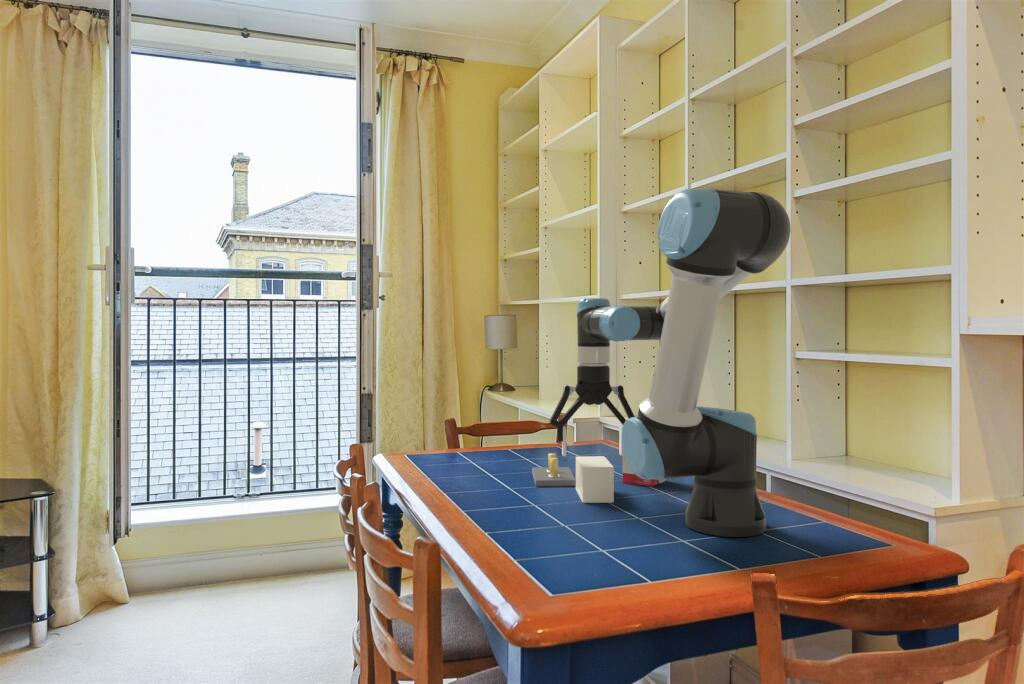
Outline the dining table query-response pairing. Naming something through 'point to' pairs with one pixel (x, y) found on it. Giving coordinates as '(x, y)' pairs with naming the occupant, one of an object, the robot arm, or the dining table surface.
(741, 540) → the dining table surface
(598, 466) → the block
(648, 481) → the ink box
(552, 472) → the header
